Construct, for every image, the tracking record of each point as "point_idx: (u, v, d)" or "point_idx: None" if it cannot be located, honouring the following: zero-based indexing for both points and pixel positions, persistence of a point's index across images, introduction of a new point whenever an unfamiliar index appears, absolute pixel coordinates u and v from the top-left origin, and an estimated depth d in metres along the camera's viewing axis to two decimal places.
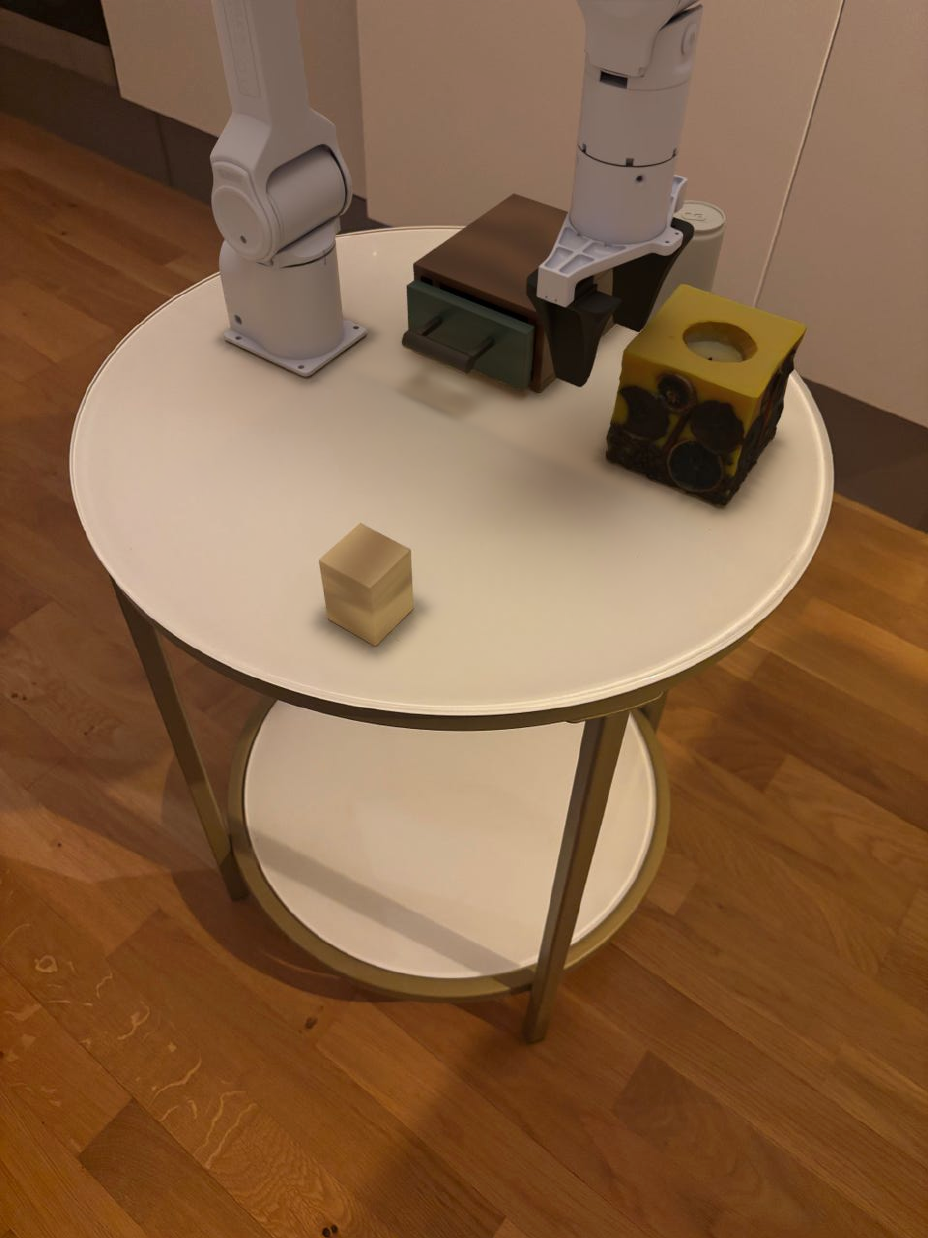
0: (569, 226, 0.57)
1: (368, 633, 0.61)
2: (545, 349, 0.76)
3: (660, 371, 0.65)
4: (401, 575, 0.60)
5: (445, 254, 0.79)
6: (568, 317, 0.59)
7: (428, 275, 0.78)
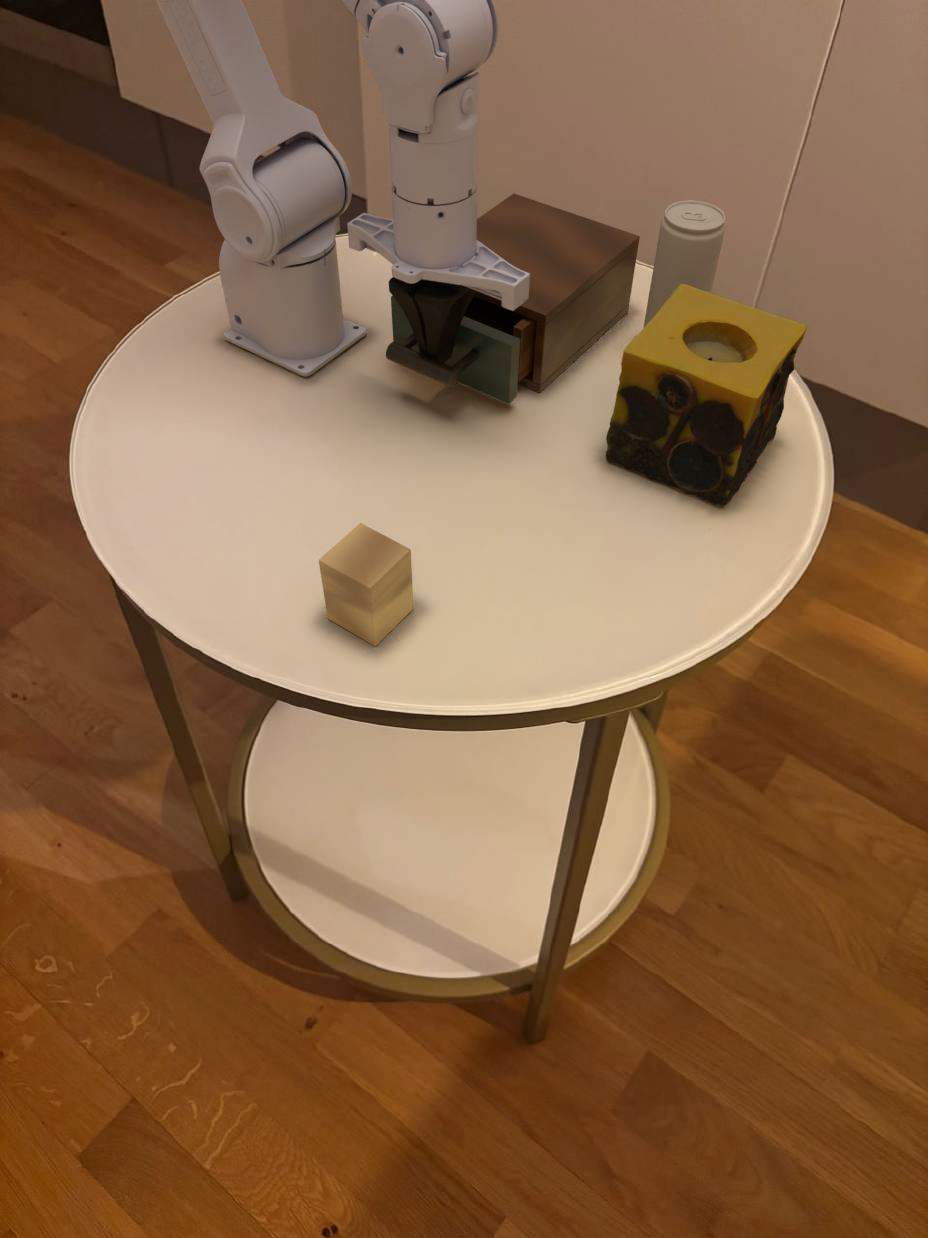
0: None
1: (368, 633, 0.61)
2: (545, 349, 0.76)
3: (660, 372, 0.65)
4: (401, 575, 0.60)
5: None
6: None
7: None
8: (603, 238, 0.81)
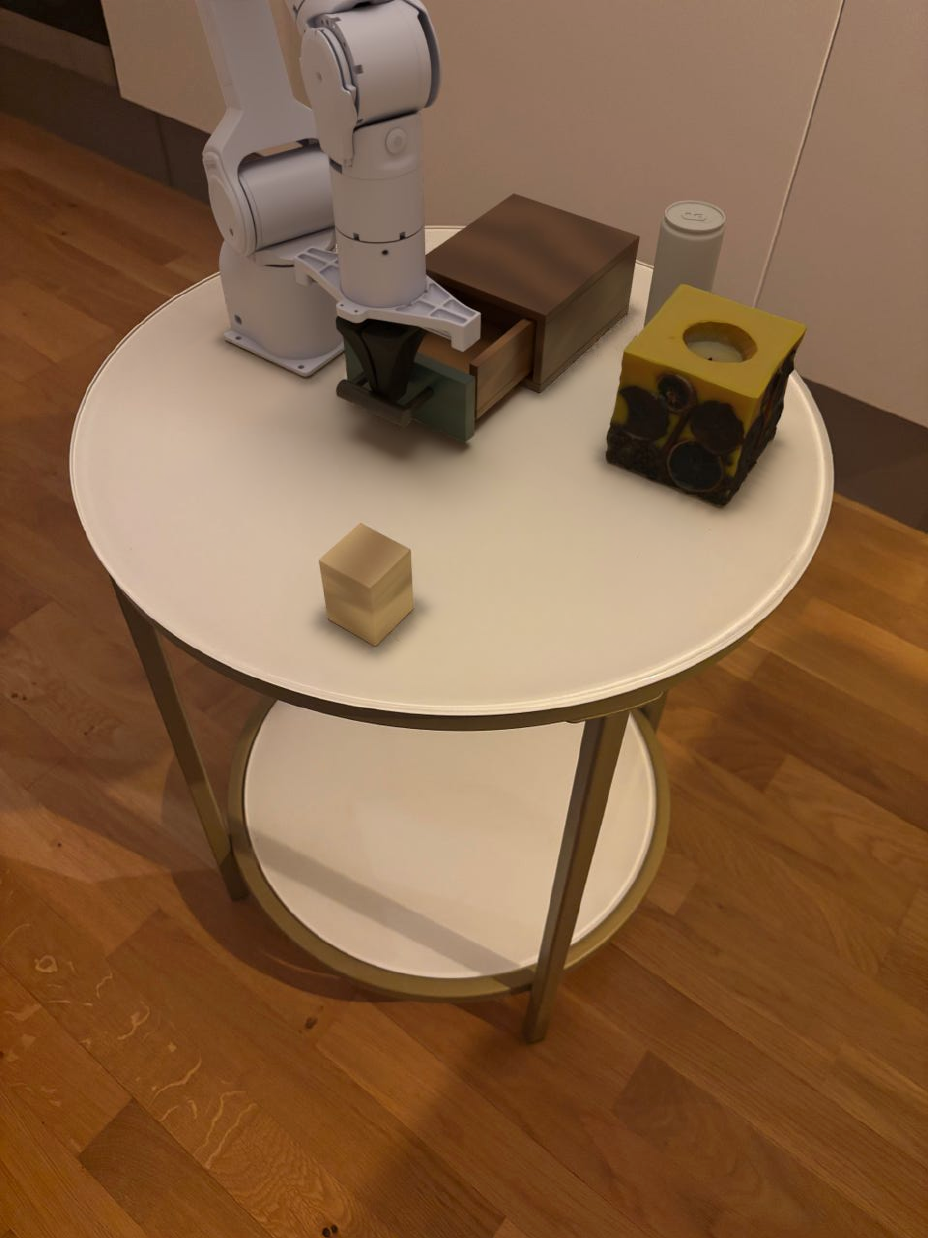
0: None
1: (368, 633, 0.61)
2: (545, 349, 0.76)
3: (660, 372, 0.65)
4: (401, 575, 0.60)
5: (445, 254, 0.79)
6: None
7: (428, 275, 0.78)
8: (603, 238, 0.81)
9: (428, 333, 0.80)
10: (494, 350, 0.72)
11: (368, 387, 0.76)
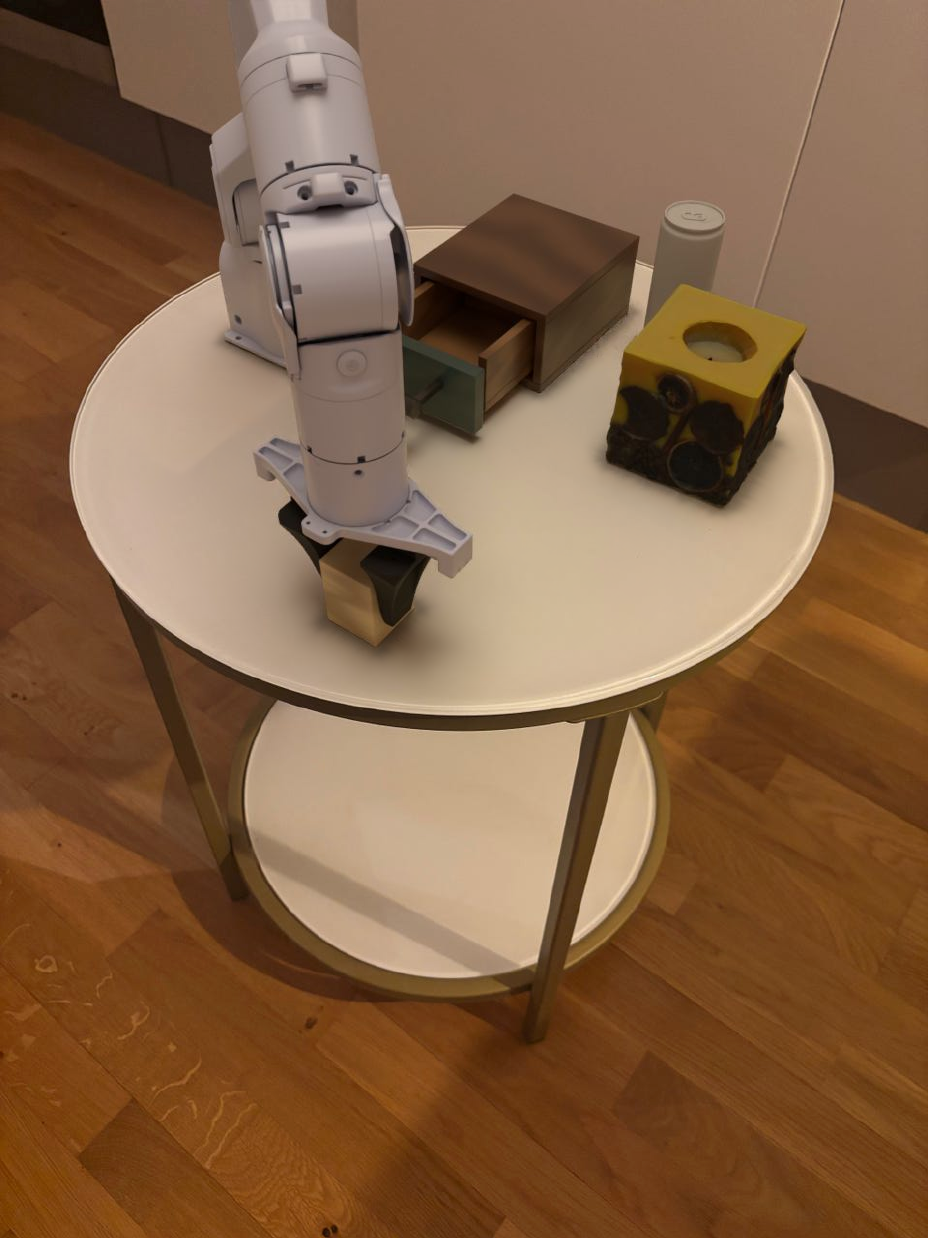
0: None
1: (368, 634, 0.61)
2: (545, 349, 0.76)
3: (660, 372, 0.65)
4: None
5: (445, 254, 0.79)
6: None
7: (428, 275, 0.78)
8: (603, 238, 0.81)
9: (436, 327, 0.81)
10: (502, 343, 0.73)
11: None
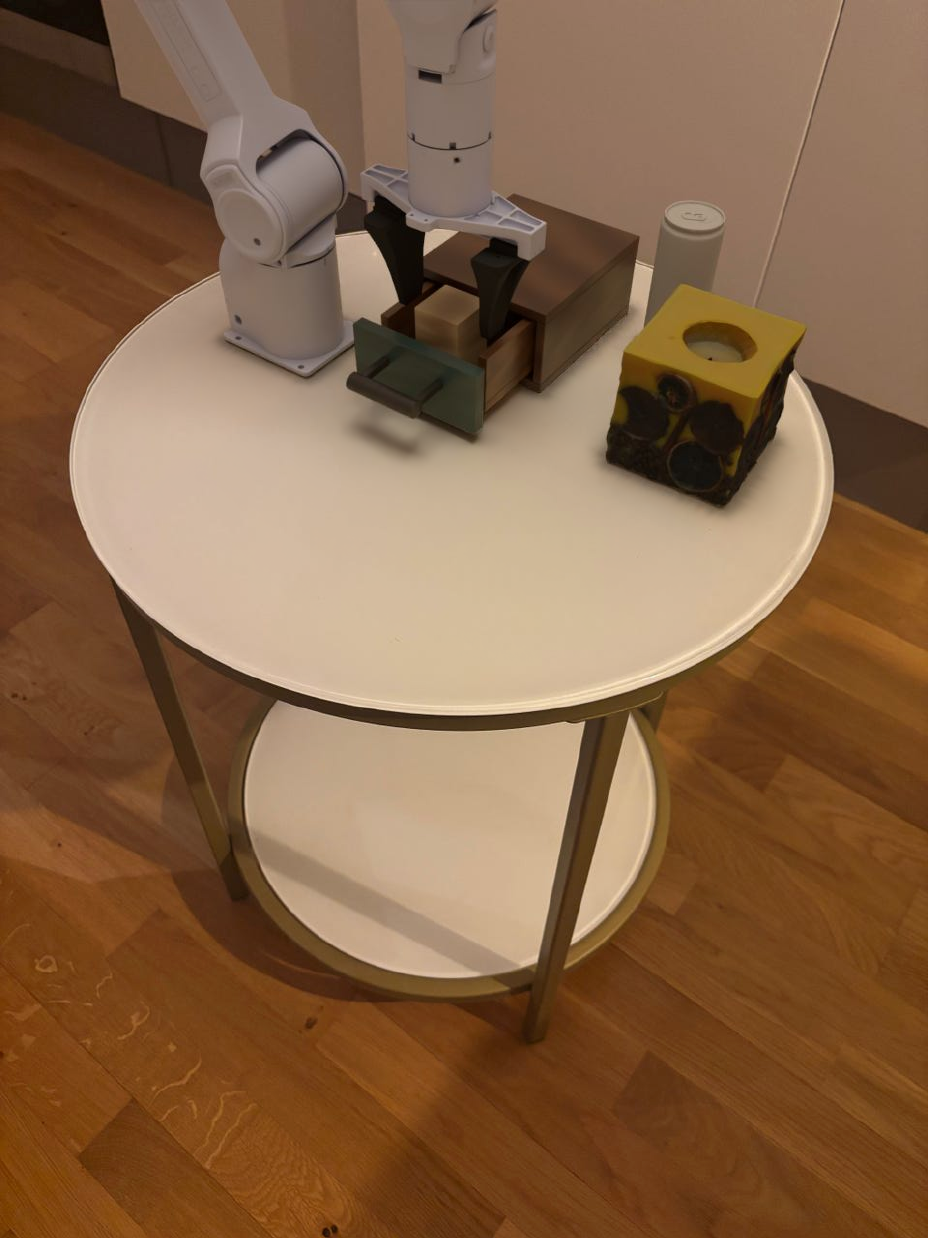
0: None
1: None
2: (545, 349, 0.76)
3: (660, 372, 0.65)
4: None
5: (445, 254, 0.79)
6: None
7: (428, 275, 0.78)
8: (603, 238, 0.81)
9: None
10: (502, 343, 0.73)
11: (377, 380, 0.76)
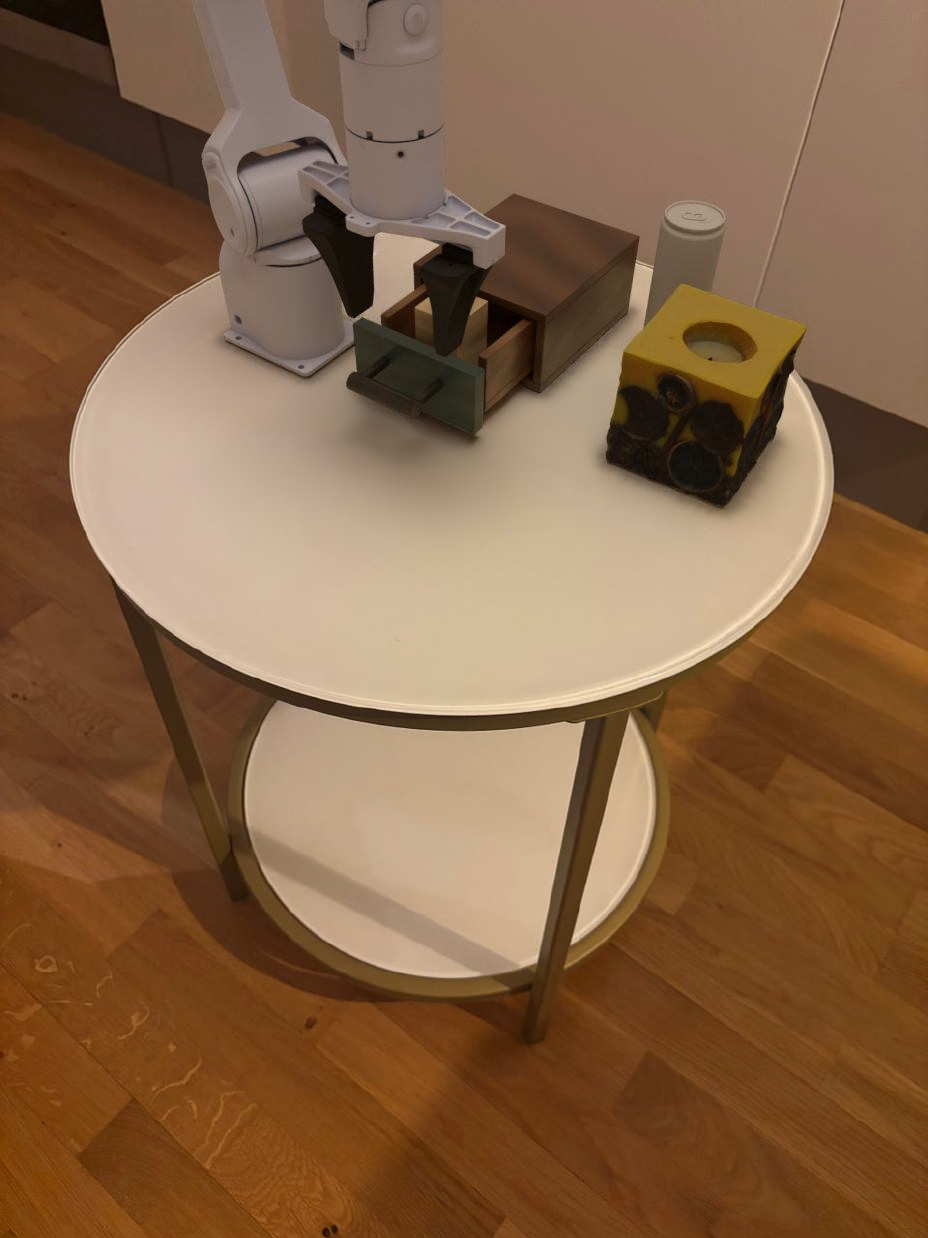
0: None
1: None
2: (545, 349, 0.76)
3: (660, 372, 0.65)
4: (480, 323, 0.74)
5: None
6: None
7: None
8: (603, 238, 0.81)
9: None
10: (502, 343, 0.73)
11: (377, 380, 0.76)
